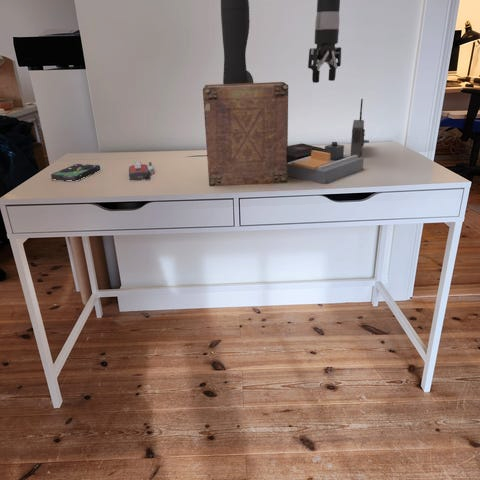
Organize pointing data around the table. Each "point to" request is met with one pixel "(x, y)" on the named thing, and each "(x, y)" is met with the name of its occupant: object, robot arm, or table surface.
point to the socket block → (327, 169)
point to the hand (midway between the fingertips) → (323, 81)
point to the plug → (335, 151)
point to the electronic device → (358, 136)
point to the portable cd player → (301, 151)
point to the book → (246, 133)
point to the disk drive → (75, 172)
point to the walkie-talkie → (140, 171)
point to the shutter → (314, 160)
